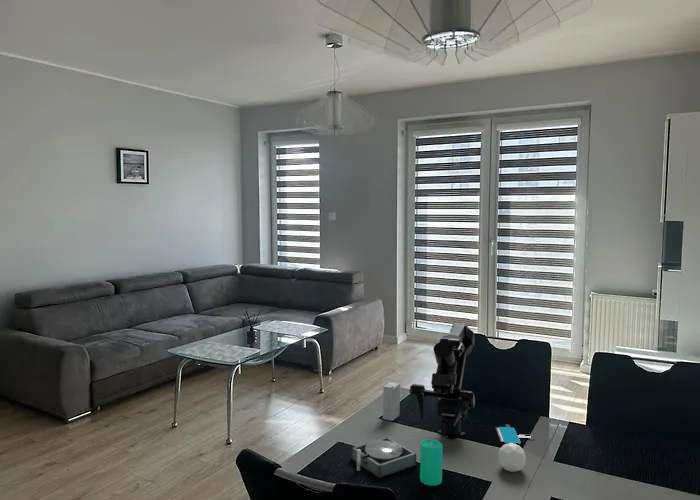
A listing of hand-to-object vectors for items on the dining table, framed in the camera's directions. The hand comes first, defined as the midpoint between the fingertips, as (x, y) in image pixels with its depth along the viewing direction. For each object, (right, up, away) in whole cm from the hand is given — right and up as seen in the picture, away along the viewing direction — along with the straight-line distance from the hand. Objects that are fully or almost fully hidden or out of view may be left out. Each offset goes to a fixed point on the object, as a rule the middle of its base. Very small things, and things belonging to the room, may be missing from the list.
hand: (437, 423), depth 154 cm
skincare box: (-10, -10, +38) cm, 40 cm away
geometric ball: (+21, -14, 0) cm, 25 cm away
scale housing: (-16, -13, +3) cm, 21 cm away
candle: (-3, -14, -6) cm, 16 cm away
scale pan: (-16, -10, +3) cm, 19 cm away
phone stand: (+29, -13, +22) cm, 39 cm away
